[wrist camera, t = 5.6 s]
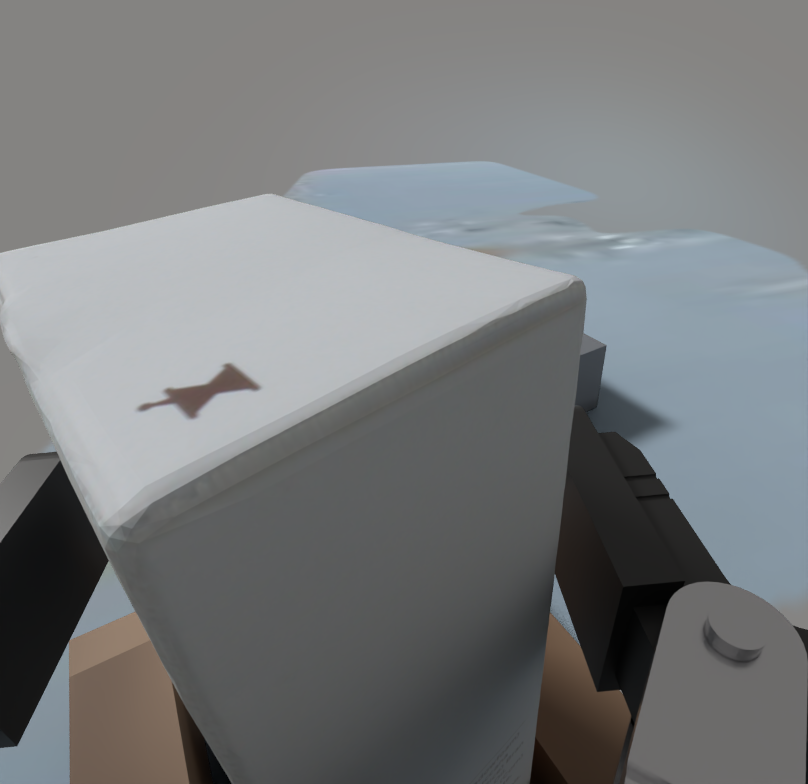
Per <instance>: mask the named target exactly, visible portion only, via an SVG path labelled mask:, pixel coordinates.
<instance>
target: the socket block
mask: <svg viewBox="0 0 808 784" xmlns="http://www.w3.org/2000/svg"><path fill="white" fill-rule="evenodd" d="M69 708H70V784H213V780H212V775H211V770H210V765H209V760H208V755H207V750H206V745H205V741H204V736H203V735H202V733H201V732H200V730H199V728H198V727H197V725H196V723H195V722H194V720H193V718H192V717H191V715H190V713H189V712H188V710H187V709H186V707H185V705H184V703H183V701H182V699H181V698H180V696H179V694H178V692H177V690H176V688H175V686H174V685H173V683H172V681H171V679H170V677H169V675H168V673H167V671H166V670H165V668H164V666H163V664H162V662H161V660H160V658H159V656H158V654H157V652H156V650H155V648H154V646H153V644H152V642H151V641H150V639H149V637H148V635H147V633H146V631H145V629H144V627H143V625H142V623H141V621H140V619H139V617H138V615H137V614H136V612H134V613H131V614H129V615H127V616H124V617H122V618H120V619H117V620H115V621H113V622H111V623H108V624H106V625H104V626H101V627H99V628H97V629H95V630H92V631H90V632H88V633H85V634H83V635H81V636H79V637H76V638H74V639H72V640H69ZM630 717H631V714H630V711H629V709H628V706H627V703H626V701H625V698H624V696H623V694H622V693H621V692H620V691H619V690H614V691H604V692H597V691H596V688H595V685H594V682H593V679H592V677H591V674H590V671H589V668H588V665H587V662H586V660H585V657H584V654H583V651H582V648H581V647H580V645H579V644H578V643H577V642H576V641H575V640H574V639H573V638H572V636H571V635H570V634H569V633H568V632H567V631H566V630H565V628H564V627H563V626H562V625H561V624H560V623H559V622H558V621H557V619H556V618H555V617H554V616H553V615H552V614H551V613H550V615H549V625H548V632H547V641H546V650H545V659H544V668H543V676H542V683H541V691H540V701H539V708H538V715H537V725H536V734H535V744H534V752H533V760H532V768H531V777H530V784H612V783H613V779H614V775H615V771H616V768H617V764H618V760H619V757H620V753H621V749H622V745H623V742H624V738H625V734H626V730H627V727H628V723H629V720H630Z"/></svg>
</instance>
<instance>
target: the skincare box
mask: <svg viewBox="0 0 808 784" xmlns="http://www.w3.org/2000/svg"><path fill="white" fill-rule="evenodd" d="M586 299H587V298H586V288H585V285H584V283H583V281H582V280H581V279H579V278H577V277H576V276H574V275H569V274H565V273H561V272H556V271H552V270H548V269H544V268H540V267H536V266H532V265H528V264H524V263H520V262H516V261H512V260H508V259H504V258H500V257H496V256H492V255H489V254H485V253H481V252H477V251H473V250H469V249H466V248H462V247H458V246H454V245H450V244H446V243H442V242H439V241H435V240H431V239H428V238H424V237H420V236H417V235H413V234H410V233H407V232H403V231H400V230H397V229H394V228H391V227H388V226H384V225H381V224H377V223H374V222H370V221H366V220H363V219H359V218H356V217H352V216H349V215H346V214H342V213H337V212H334V211H331V210H328V209H325V208H321V207H317V206H313V205H310V204H306V203H301V202H298V201H295V200H292V199H288V198H284V197H281V196H278V195H275V194H264V195H260V196H255V197H251V198H246V199H241V200H237V201H232V202H228V203H223V204H218V205H214V206H210V207H205V208H201V209H197V210H192V211H189V212H184V213H180V214H175V215H171V216H167V217H162V218H158V219H154V220H150V221H145V222H141V223H136V224H132V225H128V226H124V227H120V228H115V229H111V230H106V231H102V232H97V233H92V234H88V235H83V236H78V237H73V238H69V239H64V240H59V241H54V242H49V243H45V244H39V245H34V246H30V247H25V248H20V249H16V250H11V251H7V252H3V253H0V323H1V330H2V334H3V337H4V340H5V343H6V345H7V346H8V348H9V350H10V351H11V353H12V355H13V356H14V358H15V360H16V361H17V363H18V365H19V367H20V370H21V372H22V375H23V377H24V380H25V382H26V385H27V387H28V390H29V392H30V395H31V397H32V400H33V402H34V404H35V406H36V408H37V410H38V412H39V414H40V416H41V419H42V421H43V423H44V425H45V427H46V429H47V431H48V433H49V435H50V438H51V440H52V442H53V444H54V446H55V449H56V451H57V453H58V455H59V458H60V460H61V462H62V465H63V467H64V469H65V471H66V474H67V476H68V478H69V480H70V482H71V484H72V486H73V488H74V490H75V493H76V495H77V497H78V499H79V501H80V503H81V505H82V507H83V509H84V511H85V513H86V515H87V517H88V519H89V521H90V523H91V525H92V527H93V529H94V531H95V533H96V536H97V538H98V540H99V542H100V544H101V546H102V548H103V550H104V552H105V554H106V556H107V558H108V560H109V562H110V564H111V566H112V568H113V570H114V572H115V574H116V575H117V577H118V579H119V581H120V583H121V585H122V587H123V589H124V591H125V593H126V594H127V596H128V598H129V600H130V602H131V604H132V606H133V608H134V610H135V612H136V614H137V615H138V617H139V619H140V621H141V623H142V625H143V627H144V629H145V631H146V633H147V635H148V637H149V639H150V641H151V642H152V644H153V646H154V648H155V650H156V652H157V654H158V656H159V658H160V660H161V662H162V664H163V666H164V668H165V670H166V671H167V673H168V675H169V677H170V679H171V681H172V683H173V685H174V686H175V688H176V690H177V692H178V694H179V696H180V698H181V699H182V701H183V703H184V705H185V707H186V709H187V710H188V712H189V713H190V715H191V717H192V718H193V720H194V722H195V723H196V725H197V727H198V728H199V730H200V732H201V733H202V735H203V736H204V738H205V740H206V741H207V743H208V745H209V746H210V748H211V750H212V751H213V753H214V755H215V756H216V758H217V760H218V761H219V763H220V764H221V766H222V768H223V769H224V771H225V773H226V774H227V776H228V778H229V779H230V781H231V783H232V784H530V777H531V768H532V760H533V752H534V744H535V734H536V725H537V715H538V708H539V701H540V691H541V683H542V676H543V668H544V659H545V650H546V641H547V632H548V625H549V615H550V607H551V599H552V592H553V583H554V574H555V565H556V557H557V549H558V541H559V533H560V524H561V516H562V507H563V496H564V489H565V482H566V473H567V463H568V454H569V444H570V436H571V428H572V421H573V414H574V406H575V399H576V391H577V381H578V371H579V361H580V351H581V344H582V337H583V330H584V320H585V310H586Z"/></svg>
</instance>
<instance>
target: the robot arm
mask: <svg viewBox="0 0 808 784" xmlns="http://www.w3.org/2000/svg"><path fill="white" fill-rule="evenodd" d="M108 561H109V560H108V558H107V556H106V554H105V552H104V550H103V548H102V546H101V544H100V542H99V540H98V538H97V536H96V533H95V531H94V529H93V527H92V525H91V523H90V521H89V519H88V517H87V515H86V513H85V511H84V509H83V507H82V505H81V503H80V501H79V499H78V497H77V495H76V493H75V490H74V488H73V486H72V484H71V482H70V480H69V478H68V476H67V474H66V471H65V469H64V467H63V465H62V462H61V460H60V458H59V455H58V453H57V452H49V453H38V454H29V455H26V456H24V457H23V458H22V459H21V460H20V461H19V462H18V463H17V464H16V465H15V467H14V468H13V469H12V470H11V472H10V473H9V474H8V475H7V476H6V477H5V479H4V480H3V481H2V482H1V484H0V748H4V747H14V746H17V745H18V743H19V741H20V739H21V737H22V735H23V733H24V731H25V729H26V727H27V725H28V723H29V721H30V719H31V717H32V715H33V713H34V711H35V709H36V707H37V705H38V703H39V701H40V699H41V697H42V695H43V693H44V691H45V689H46V687H47V685H48V683H49V681H50V679H51V676H52V674H53V672H54V670H55V668H56V666H57V664H58V662H59V660H60V658H61V656H62V654H63V652H64V650H65V648H66V646H67V644H68V642H69V640H70V638H71V636H72V634H73V632H74V630H75V628H76V626H77V624H78V622H79V620H80V618H81V616H82V614H83V612H84V610H85V608H86V606H87V603H88V601H89V599H90V597H91V595H92V593H93V591H94V589H95V587H96V585H97V583H98V581H99V579H100V577H101V575H102V573H103V571H104V569H105V567H106V565H107V563H108ZM555 575H556V578H557V581H558V583H559V586H560V589H561V592H562V595H563V598H564V600H565V603H566V606H567V609H568V612H569V615H570V617H571V620H572V623H573V626H574V629H575V631H576V634H577V637H578V640H579V643H580V646H581V648H582V651H583V654H584V657H585V660H586V662H587V665H588V668H589V671H590V674H591V677H592V679H593V682H594V685H595V688H596V691H597V692H604V691H614V690H621V691H622V693H623V696H624V698H625V701H626V703H627V706H628V709H629V711H630V714H631V717H630V720H629V723H628V727H627V730H626V734H625V738H624V742H623V745H622V749H621V753H620V757H619V760H618V764H617V768H616V771H615V775H614V779H613V783H612V784H808V630H805V629H802V628H798V627H796V626H793V625H792V624H791V623H790V622H789V621H788V620H787V619H786V618H785V617H784V615H783V614H781V613H780V612H779V611H778V610H777V609H776V608H775V607H773V606H772V605H771V604H769V603H768V602H766V601H765V600H763V599H762V598H760V597H758V596H756V595H755V594H753V593H751V592H749V591H746V590H744V589H742V588H739V587H736V586H733V585H731V584H730V583H729V582H728V580H727V579H726V578H725V576H724V575H723V573H722V572H721V570H720V569H719V567H718V566H717V564H716V563H715V561H714V560H713V558H712V557H711V555H710V554H709V552H708V551H707V549H706V548H705V546H704V545H703V543H702V542H701V540H700V539H699V537H698V536H697V534H696V533H695V531H694V530H693V528H692V527H691V525H690V524H689V522H688V521H687V519H686V518H685V517H684V515H683V514H682V512H681V511H680V509H679V508H678V506H677V505H676V503H675V502H674V500H673V499H670V497H669V493H668V491H667V490H666V488H665V487H664V485H663V484H662V482H661V481H660V479H657V478H656V473H655V472H654V470H653V469H652V467H651V466H650V464H649V463H648V461H647V460H646V458H645V457H644V455H643V454H642V452H641V451H640V450H639V449H638V448H636V447H635V446H634V445H632V444H631V443H630V442H628V441H627V440H625V439H624V438H623V437H621V436H620V435H619V434H617V433H616V432H606V433H598V432H597V431H596V429H595V427H594V425H593V424H592V422H591V420H590V419H589V417H588V415H587V414H586V412H585V410H584V409H583V408H582V407H581V406H580V405H575V406H574V414H573V421H572V428H571V436H570V444H569V454H568V463H567V473H566V482H565V489H564V496H563V507H562V516H561V524H560V533H559V541H558V549H557V557H556V565H555Z"/></svg>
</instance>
